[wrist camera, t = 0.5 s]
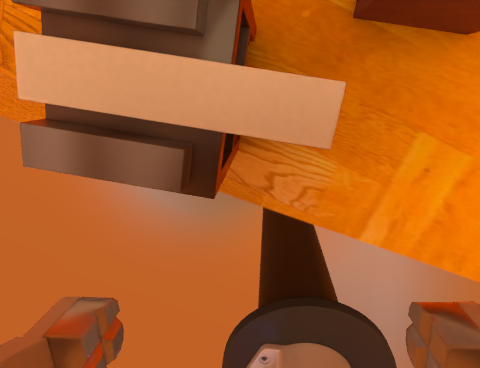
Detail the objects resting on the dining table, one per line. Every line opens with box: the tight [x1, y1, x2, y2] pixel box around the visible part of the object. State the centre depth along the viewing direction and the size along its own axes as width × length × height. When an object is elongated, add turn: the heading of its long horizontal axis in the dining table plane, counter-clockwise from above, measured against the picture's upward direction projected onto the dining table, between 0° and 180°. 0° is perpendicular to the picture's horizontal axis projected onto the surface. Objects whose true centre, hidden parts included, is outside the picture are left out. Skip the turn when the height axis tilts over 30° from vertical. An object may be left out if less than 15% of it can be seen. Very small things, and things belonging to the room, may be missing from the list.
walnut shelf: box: [11, 0, 256, 199], centre depth 30 cm, size 13×15×22 cm
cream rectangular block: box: [14, 31, 346, 150], centre depth 20 cm, size 20×4×2 cm, turn 82°
